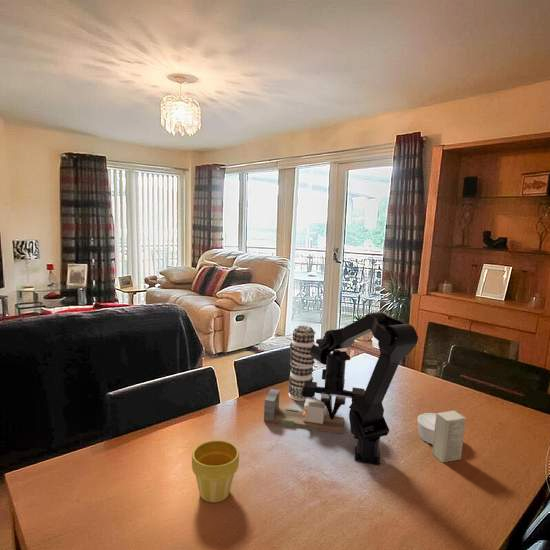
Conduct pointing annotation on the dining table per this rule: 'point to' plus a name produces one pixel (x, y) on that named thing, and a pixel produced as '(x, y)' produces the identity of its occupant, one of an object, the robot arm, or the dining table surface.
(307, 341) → the decorative candle
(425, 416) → the ramekin
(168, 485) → the dining table surface
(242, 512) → the dining table surface
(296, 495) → the dining table surface
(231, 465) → the plant pot
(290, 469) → the dining table surface
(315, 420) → the block
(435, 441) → the skincare box
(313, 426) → the gauge board
